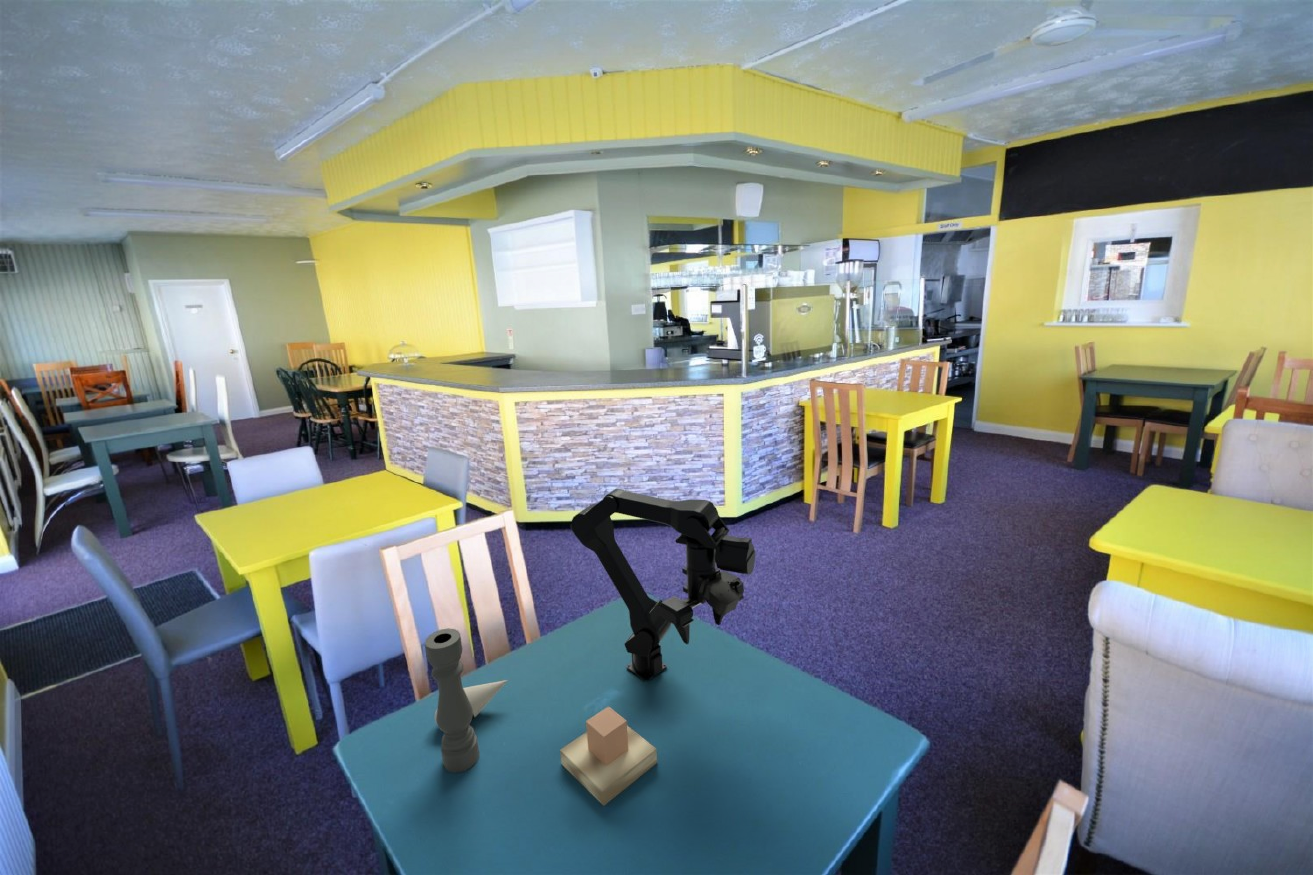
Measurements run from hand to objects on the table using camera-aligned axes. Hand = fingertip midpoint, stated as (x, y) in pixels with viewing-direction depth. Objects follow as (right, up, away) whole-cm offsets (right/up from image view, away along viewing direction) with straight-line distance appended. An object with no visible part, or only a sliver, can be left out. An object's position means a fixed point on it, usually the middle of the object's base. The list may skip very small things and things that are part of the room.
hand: (702, 633), depth 117 cm
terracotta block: (-18, -15, -16) cm, 28 cm away
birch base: (-18, -18, -16) cm, 29 cm away
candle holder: (-45, -18, -13) cm, 50 cm away
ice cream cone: (-46, -15, -2) cm, 48 cm away
